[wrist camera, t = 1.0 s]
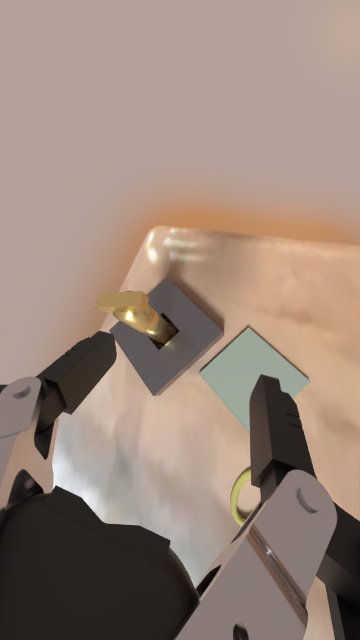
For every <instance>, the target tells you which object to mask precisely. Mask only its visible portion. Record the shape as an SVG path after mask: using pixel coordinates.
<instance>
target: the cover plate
mask: <svg viewBox="0 0 360 640" xmlns="http://www.w3.org/2000/svg"><path fill="white" fill-rule="evenodd" d="M147 297H148V298H149V300H148V305H150V306H151V307H152V308H153V309H154V310H155V311H156V312H157V313H158V314H159V315H160V316H161V317H162V318H163V319H165V320H166V319H167V318H169V319H170V321H171V322H172V323H173V324H174V325H175V326H176V327H177V328H178V329H179V332H178V333H177V334H176V335H175V336H174V337H173V338H172V339H171V340H169V341H168V342H167V343H166V344H165V345H164V346H163V347H162V348H160V347H159V346H158V344H157V343H156V342H155V341H154V339H152V338H151V337H149V336H147V335H145V334H144V333H142V332H140V331H138V330H136V329H135V328H133V327H131V326H129V325H127V324H126V323H124V322H122V321H119V322H118V323H117V324H115V325H114V326H113V327H112V328H111V329H110V330H109V331H110V333H111V334H113V335H114V338H115V340H116V341H117V343H118V344H119V346H120V347H121V349H122V350H123V352H124V353H125V355H126V356H127V358H128V359H129V361H130V362H131V364H132V365H133V367H134V368H135V370H136V371H137V373H138V374H139V375H140V377H141V378H142V380H143V381H144V383H145V384H146V386H147V387H148V389H149V390H150V392H151V393H152V395H153V396H157V395H161V394H162V393H163V392H164V391H165V390H166V389H167V388H168V387H169V386H170V385H171V384H172V383H173V382H175V381H176V380H177V379H178V378H179V377H180V376H181V375H182V374H183V373H184V372H185V371H186V370H187V369H189V368H190V367H191V366H192V365H193V364H194V363H195V362H196V361H197V360H198V359H199V358H200V357H201V356H203V355H204V354H205V353H206V352H207V351H208V350H209V349H210V348H211V347H212V346H213V345H214V344H215V343H217V342H218V341H219V340H220V339H221V338H222V337H223V336H224V333H223V331H222V330H221V329H220V328H219V327H218V326H217V325H216V324H215V323H214V322H213V321H212V320H211V319H210V318H209V317H208V316H207V315H206V314H205V313H204V312H203V311H202V310H201V309H199V308H198V307H197V306H196V305H195V304H194V303H193V302H192V301H191V300H190V299H189V298H188V297H187V296H186V295H185V294H184V293H183V292H182V291H181V290H180V289H179V288H178V287H177V286H175V285H174V284H173V283H172V282H171V281H170V280H169V279H168V278H166V279H165V280H164V281H163V282H161V283H160V284H159V285H158V286H157V287H156V288H155V289H154V290H153V291H152V292H150V293H149V294H148V295H147Z"/></svg>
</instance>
